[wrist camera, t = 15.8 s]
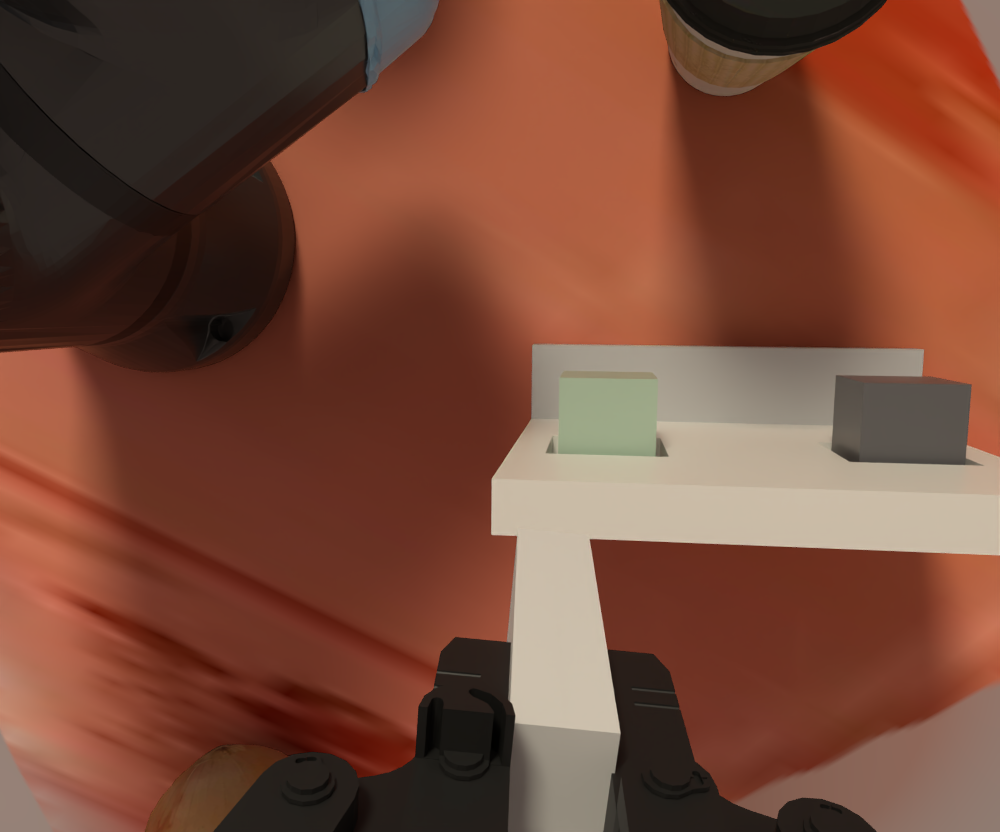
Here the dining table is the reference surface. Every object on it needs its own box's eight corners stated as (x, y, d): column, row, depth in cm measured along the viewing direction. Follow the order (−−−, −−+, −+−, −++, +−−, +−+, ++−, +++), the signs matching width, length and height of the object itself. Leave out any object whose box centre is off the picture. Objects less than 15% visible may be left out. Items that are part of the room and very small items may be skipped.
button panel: (533, 450, 47) (491, 534, 29) (534, 343, 46) (492, 363, 28) (905, 460, 44) (1106, 559, 27) (912, 348, 44) (1126, 373, 26)
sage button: (561, 498, 39) (557, 519, 35) (563, 370, 38) (559, 377, 34) (648, 501, 38) (653, 523, 34) (652, 372, 38) (658, 379, 34)
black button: (827, 507, 37) (854, 530, 33) (835, 375, 37) (864, 382, 33) (921, 511, 37) (959, 534, 33) (931, 376, 36) (971, 384, 32)
